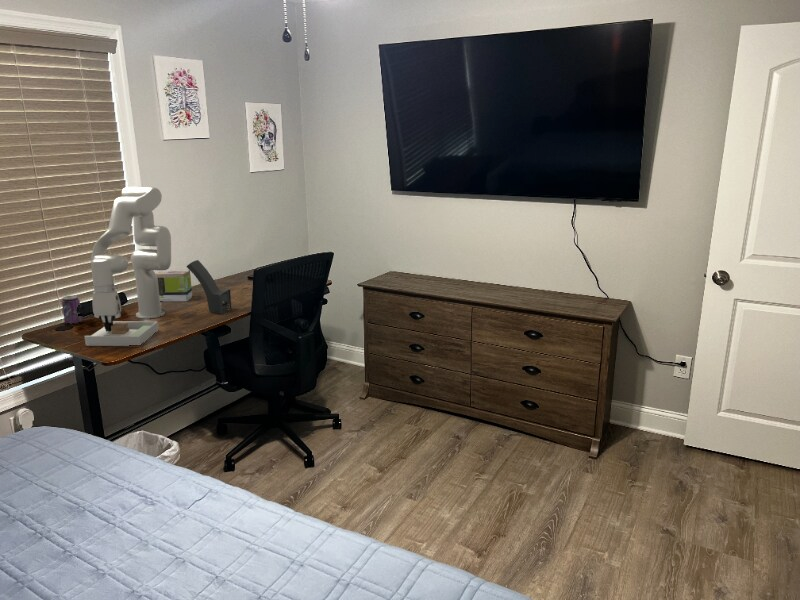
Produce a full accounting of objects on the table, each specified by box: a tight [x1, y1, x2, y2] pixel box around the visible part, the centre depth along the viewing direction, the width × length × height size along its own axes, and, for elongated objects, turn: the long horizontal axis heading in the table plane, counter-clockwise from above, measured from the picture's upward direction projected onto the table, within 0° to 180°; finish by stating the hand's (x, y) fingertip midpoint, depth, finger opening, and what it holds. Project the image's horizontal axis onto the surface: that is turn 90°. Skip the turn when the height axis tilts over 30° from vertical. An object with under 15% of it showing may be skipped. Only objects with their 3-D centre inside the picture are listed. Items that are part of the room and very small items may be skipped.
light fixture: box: [186, 259, 232, 315], centre depth 290 cm, size 11×17×24 cm, turn 81°
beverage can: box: [61, 294, 83, 325], centre depth 272 cm, size 7×7×12 cm
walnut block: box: [111, 323, 129, 334], centre depth 253 cm, size 5×5×4 cm
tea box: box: [155, 269, 193, 302], centre depth 310 cm, size 15×10×15 cm, turn 92°
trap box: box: [84, 320, 160, 347], centre depth 254 cm, size 20×22×4 cm
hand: (109, 330), depth 254 cm, fingers closed
